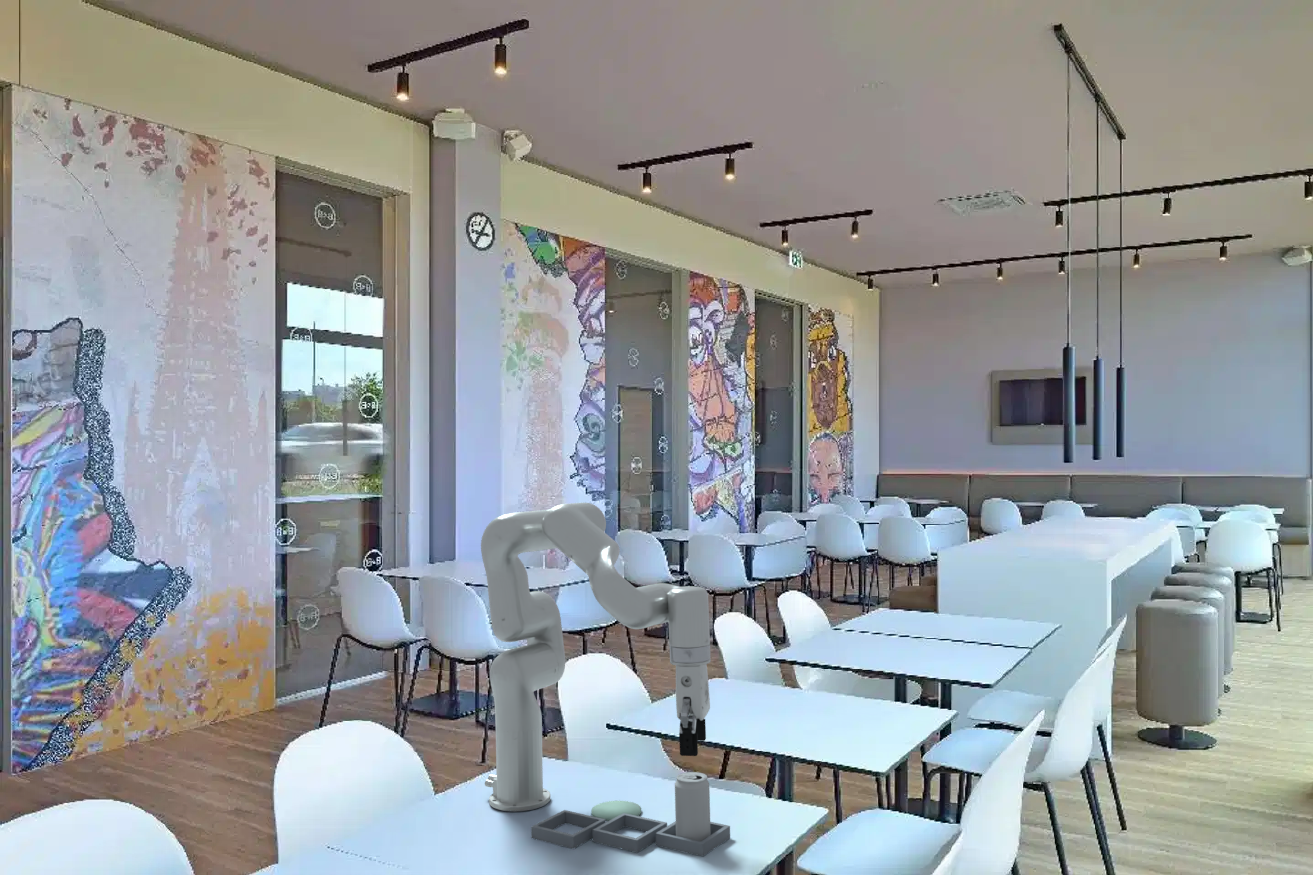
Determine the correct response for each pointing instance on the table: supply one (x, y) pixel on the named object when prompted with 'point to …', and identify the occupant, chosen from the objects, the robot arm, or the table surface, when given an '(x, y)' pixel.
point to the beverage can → (692, 806)
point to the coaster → (615, 809)
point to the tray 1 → (547, 834)
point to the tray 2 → (608, 837)
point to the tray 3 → (674, 842)
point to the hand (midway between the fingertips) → (693, 747)
